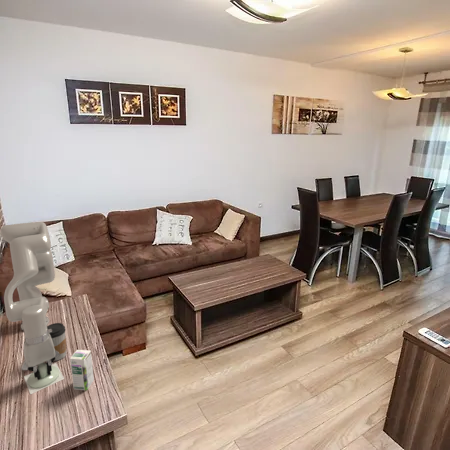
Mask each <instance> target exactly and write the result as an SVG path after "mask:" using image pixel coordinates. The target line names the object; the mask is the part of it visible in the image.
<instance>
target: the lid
mask: <svg viewBox="0 0 450 450" xmlns="http://www.w3.org/2000/svg"><path fill="white" fill-rule="evenodd" d="M46 363H47V362H43V363H40V364H38V365H37V369H38V371H39V376H40V379H39V380H38V379H37V377H36V378H35V376H34V372H33V371H32V372H31V373H32V374H31V373H30V374H31V375H30V376H29V378H28V385H29V386H30V387H32V388H42V387H45V386H48V385H50V384H51V383H53V382H54V381H55V380H56V379H57V378H58V376H59V369H60V368H59V369H58V368H57V367H55V366H51V367H52V371H50V372H51V375H49V374H48V370H47V364H46ZM50 386H51V385H50ZM48 387H49V386H48Z"/></svg>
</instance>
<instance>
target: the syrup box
mask: <svg viewBox="0 0 450 450" xmlns="http://www.w3.org/2000/svg"><path fill="white" fill-rule="evenodd" d="M69 365H70V369H71V378H72V386H73V389H74V390H77V391H88V390H89V388H90V387H91V385H92V384H93V382H94V381H95V377H94V368H93V367H94V366H93V359H92V350H87V349H76V351H74V353H72V356H70V358H69Z"/></svg>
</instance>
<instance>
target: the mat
mask: <svg viewBox="0 0 450 450" xmlns="http://www.w3.org/2000/svg"><path fill="white" fill-rule="evenodd" d="M51 366H55V367H57V368H58V369H59V376H58V378H57V379H56V380H55V381H54V382H53V383H51V384H50V385H48V386H45V387H42V388H32V387H30V386H29V385H28V378H29V376H30V375H31V374H32V373H33V372H31V373H29V374H27V375H24V376H23V378H24V381H25V385H26V386H27V389H28V391H29V395H30V396H31V395H32V394H35V393H36V392H39V391H41V390H43V389H45V388H48V387H50V386H52V385H55V384H56V383H58V382H60V381H62V380H65V377H64V375H63V373H62V371H61V369H60V368H59V366H58V364H57V362H55V363H52V365H51Z"/></svg>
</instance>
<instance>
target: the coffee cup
mask: <svg viewBox="0 0 450 450" xmlns="http://www.w3.org/2000/svg"><path fill="white" fill-rule="evenodd" d="M47 329H52V332H50V333H49V334H50V336H51V338H52V341H53V344H54V349H55V350H57V351H58V352H59V353H60V355H59V356H58V357H57V358H55V360H54V361H53V362H55V361H56V362H58V361H60V360H62V359H64V358H65V357H66V355H67V338H66V327H65V325H64V323H62V322H55V323H51V324H48V325H47Z"/></svg>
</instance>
